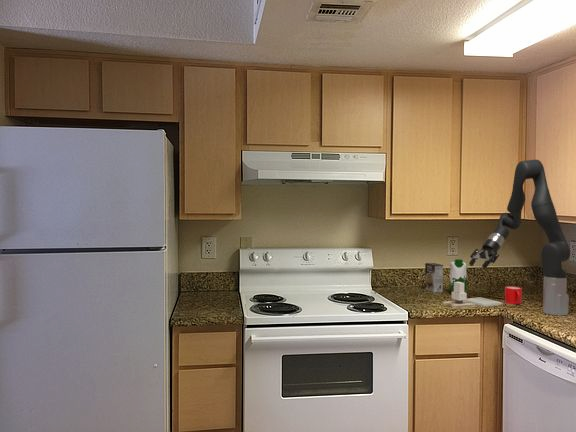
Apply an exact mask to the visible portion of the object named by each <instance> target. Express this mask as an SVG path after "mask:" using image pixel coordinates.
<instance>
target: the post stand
mask: <svg viewBox="0 0 576 432" xmlns="http://www.w3.org/2000/svg"><path fill="white" fill-rule="evenodd" d="M455 293H456V292H455ZM442 305H444V306H448V307H450V308H454V309H458V310H460V309H461V310H462V309H470V308H475V307H477V306H476V305H477V304H473V303H469V302H465V301H463V300H460V301H458V300H455V299H454V300H450V301H449V300H448V301H442Z"/></svg>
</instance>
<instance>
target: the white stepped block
mask: <svg viewBox="0 0 576 432" xmlns="http://www.w3.org/2000/svg"><path fill="white" fill-rule="evenodd" d="M455 292H456V293H455ZM467 295H468V294H467V292H466V293H465V292H464V283H462V282H454V292H452V293H451V299H452V300H454V301H455V300H458V301H460V300H467V299H468V297H467Z"/></svg>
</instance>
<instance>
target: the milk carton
mask: <svg viewBox="0 0 576 432" xmlns="http://www.w3.org/2000/svg"><path fill="white" fill-rule="evenodd" d="M454 282H462V283H464V292H465V293H467V292H466V291H467V264H466V262H464V261H463V259H460V258H459V259H458V258H455V259H454V261H450V264H449V288H450V293H451V294H452V292H454Z"/></svg>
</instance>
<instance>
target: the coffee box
mask: <svg viewBox="0 0 576 432" xmlns="http://www.w3.org/2000/svg"><path fill="white" fill-rule="evenodd" d="M424 265H425V266H424V268H425V269H424V273H425V274H424V275H425V276H424V283H425V284H424V290H425V291H429V292H432V293H443V291H444V290H443V288H444V264H440V263H435V262H425V264H424Z"/></svg>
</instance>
